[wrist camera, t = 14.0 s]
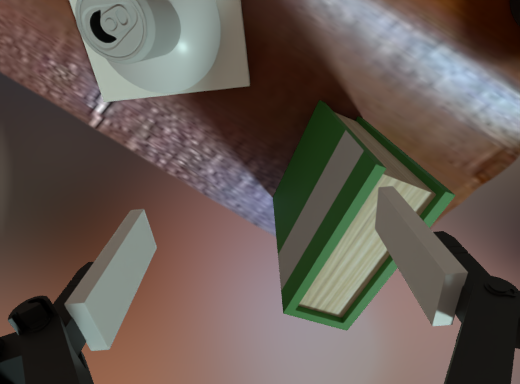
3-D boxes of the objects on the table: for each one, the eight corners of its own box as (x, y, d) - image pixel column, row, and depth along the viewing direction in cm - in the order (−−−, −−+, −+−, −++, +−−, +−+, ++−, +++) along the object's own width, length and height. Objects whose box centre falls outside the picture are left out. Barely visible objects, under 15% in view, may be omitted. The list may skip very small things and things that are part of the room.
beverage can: (115, 8, 34) (51, -2, 23) (164, -19, 33) (120, -41, 22) (146, 64, 37) (102, 78, 26) (192, 41, 36) (165, 46, 25)
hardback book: (319, 100, 44) (376, 164, 23) (363, 118, 45) (455, 195, 24) (272, 197, 52) (283, 313, 31) (311, 211, 53) (347, 330, 32)
